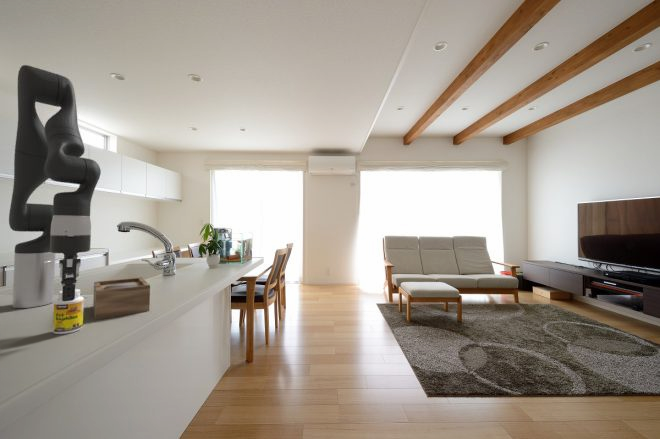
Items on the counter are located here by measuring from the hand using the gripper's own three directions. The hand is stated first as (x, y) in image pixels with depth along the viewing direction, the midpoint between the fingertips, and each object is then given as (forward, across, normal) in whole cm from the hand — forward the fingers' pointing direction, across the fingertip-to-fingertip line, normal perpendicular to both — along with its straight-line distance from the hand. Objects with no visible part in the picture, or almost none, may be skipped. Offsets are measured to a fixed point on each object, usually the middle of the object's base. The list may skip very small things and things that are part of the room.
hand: (68, 297), depth 70 cm
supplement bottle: (+9, 0, 0) cm, 9 cm away
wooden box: (+8, -14, +12) cm, 21 cm away
